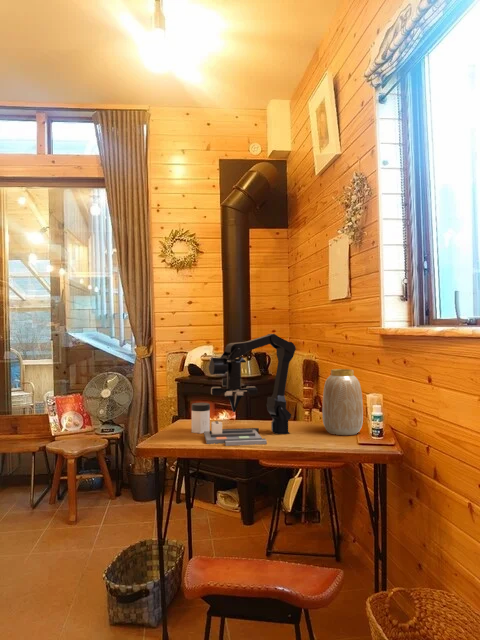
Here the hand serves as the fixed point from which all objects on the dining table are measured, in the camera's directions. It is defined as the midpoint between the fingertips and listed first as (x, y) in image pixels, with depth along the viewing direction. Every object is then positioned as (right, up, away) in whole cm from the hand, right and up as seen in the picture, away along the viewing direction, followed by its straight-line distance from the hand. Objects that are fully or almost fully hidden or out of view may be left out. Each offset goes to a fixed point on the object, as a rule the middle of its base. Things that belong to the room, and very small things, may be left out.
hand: (234, 411), depth 185 cm
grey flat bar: (+5, -11, -9) cm, 14 cm away
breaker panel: (-1, -11, 0) cm, 11 cm away
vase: (+47, -11, +11) cm, 50 cm away
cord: (+2, -11, +11) cm, 15 cm away
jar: (-15, -11, +13) cm, 23 cm away
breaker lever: (-7, -9, -1) cm, 12 cm away
